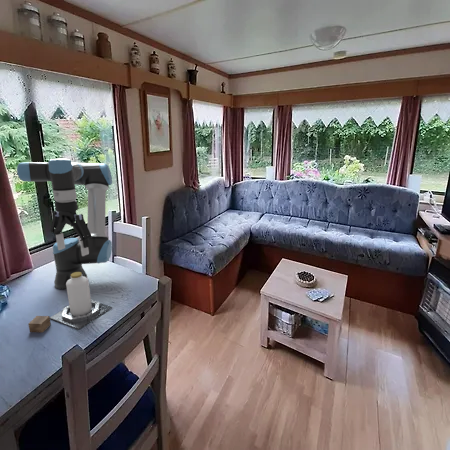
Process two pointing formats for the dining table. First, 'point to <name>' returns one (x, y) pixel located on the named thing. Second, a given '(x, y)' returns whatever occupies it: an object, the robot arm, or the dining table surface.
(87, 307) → the white plastic bottle
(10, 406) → the dining table surface
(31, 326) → the walnut block
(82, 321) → the ring seat
